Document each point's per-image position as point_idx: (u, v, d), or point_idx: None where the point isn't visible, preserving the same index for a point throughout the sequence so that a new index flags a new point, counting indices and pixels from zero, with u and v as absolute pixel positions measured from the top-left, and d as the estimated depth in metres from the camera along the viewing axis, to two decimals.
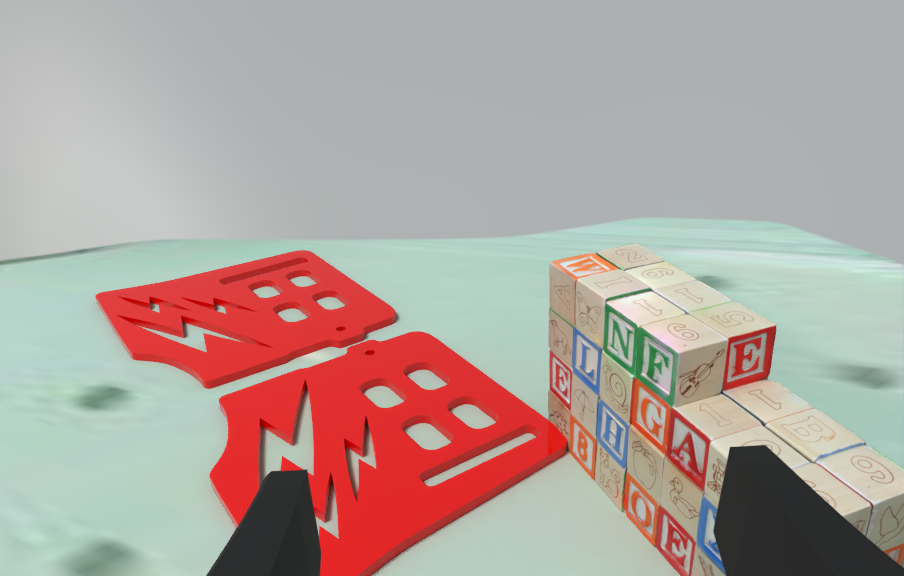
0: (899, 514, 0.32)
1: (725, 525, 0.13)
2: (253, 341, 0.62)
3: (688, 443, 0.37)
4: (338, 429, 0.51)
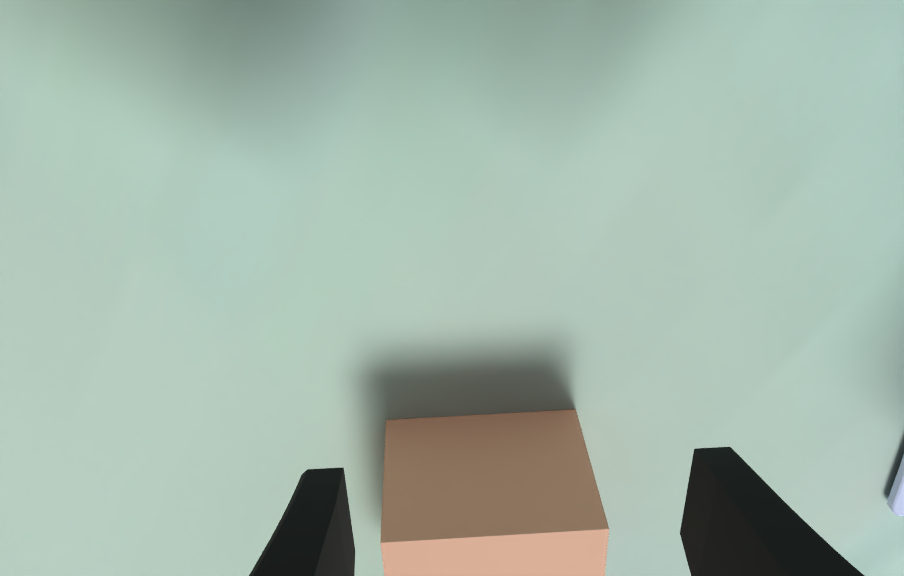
0: None
1: (690, 527, 0.13)
2: None
3: None
4: None
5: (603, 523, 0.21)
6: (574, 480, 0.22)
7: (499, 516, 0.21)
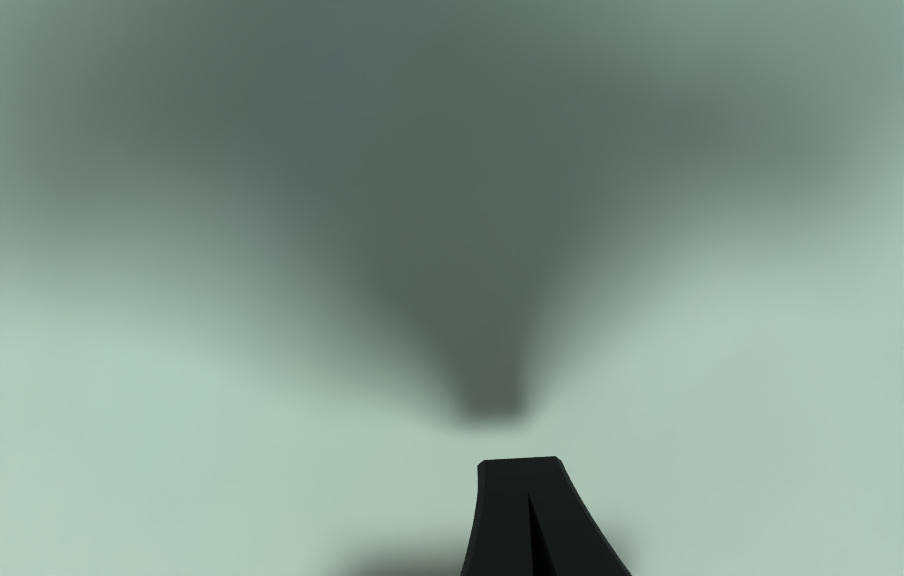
0: None
1: None
2: None
3: None
4: None
5: None
6: None
7: None
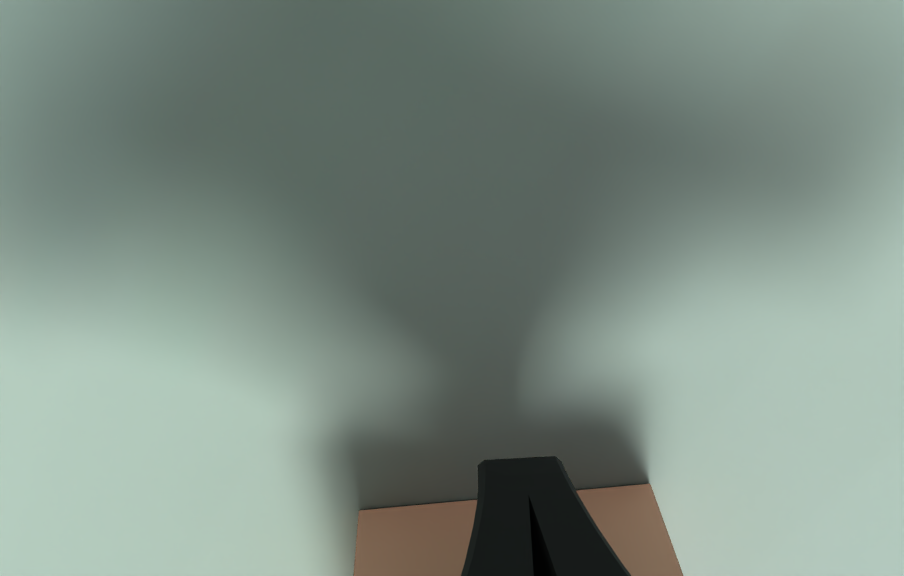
0: None
1: None
2: None
3: None
4: None
5: None
6: None
7: None
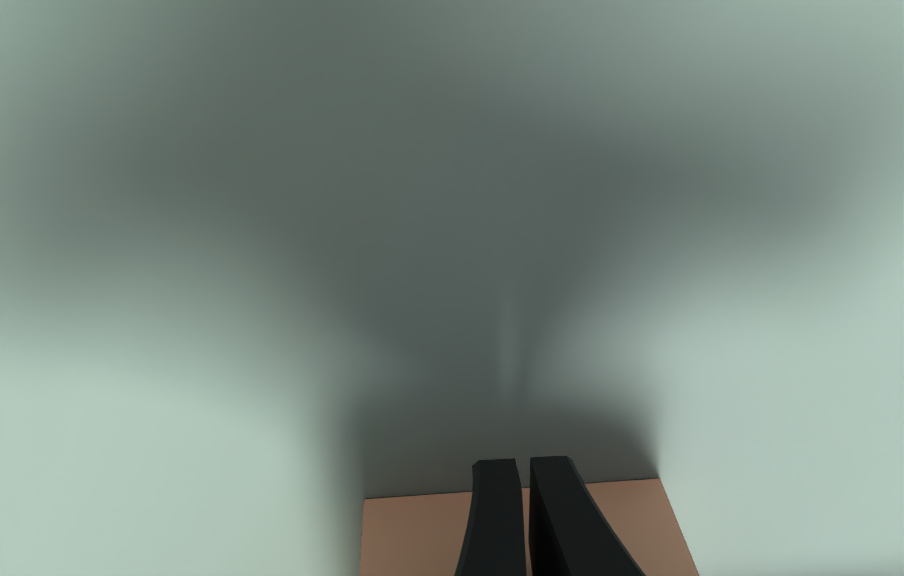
0: None
1: (531, 536, 0.13)
2: None
3: None
4: None
5: None
6: None
7: None
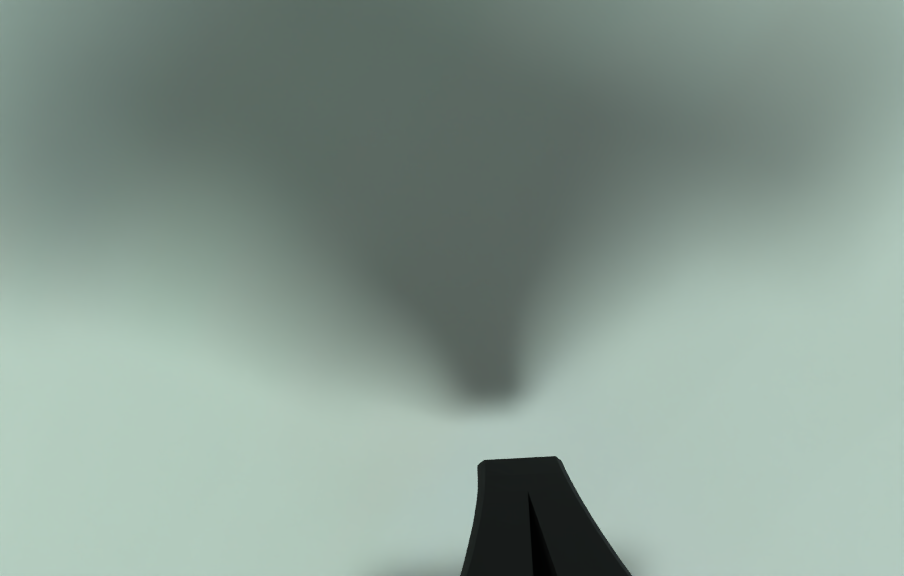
0: None
1: None
2: None
3: None
4: None
5: None
6: None
7: None
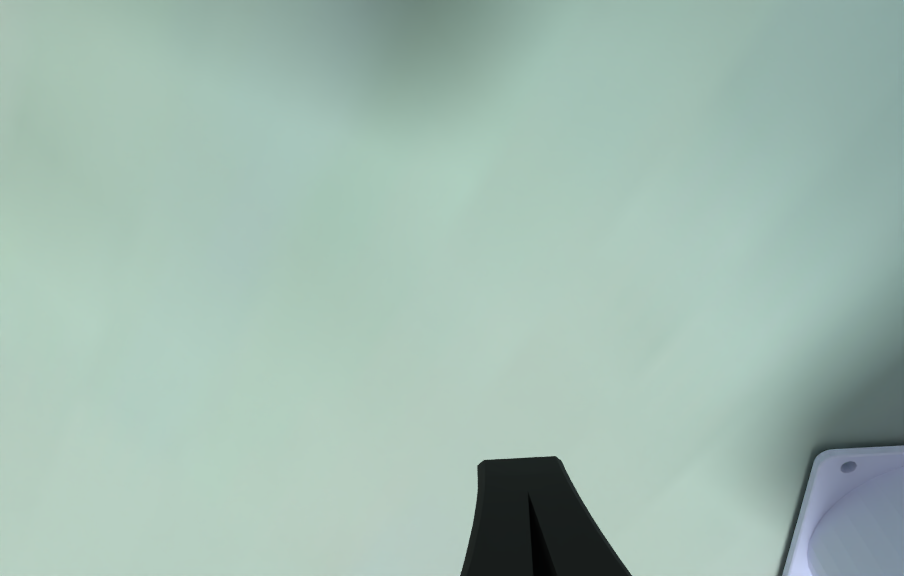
0: None
1: None
2: None
3: None
4: None
5: None
6: None
7: None
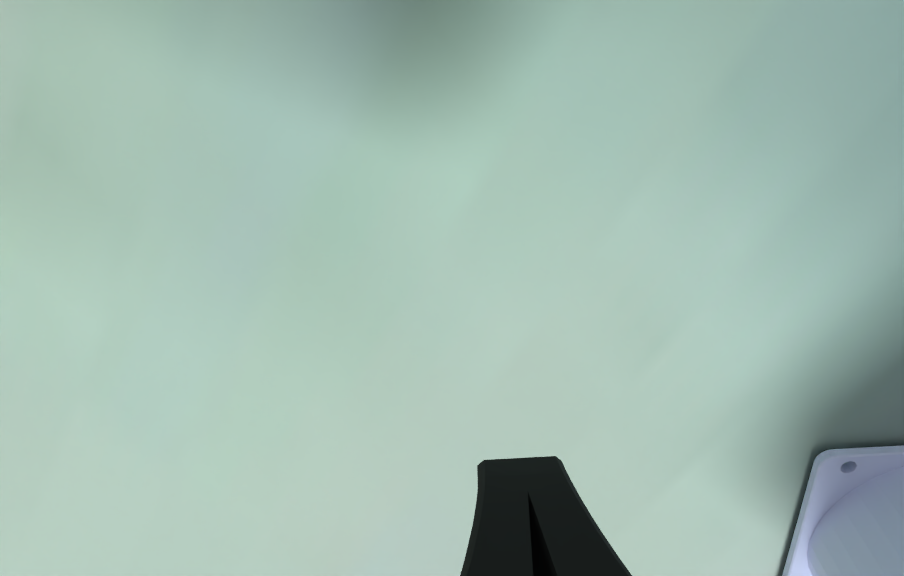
0: None
1: None
2: None
3: None
4: None
5: None
6: None
7: None
